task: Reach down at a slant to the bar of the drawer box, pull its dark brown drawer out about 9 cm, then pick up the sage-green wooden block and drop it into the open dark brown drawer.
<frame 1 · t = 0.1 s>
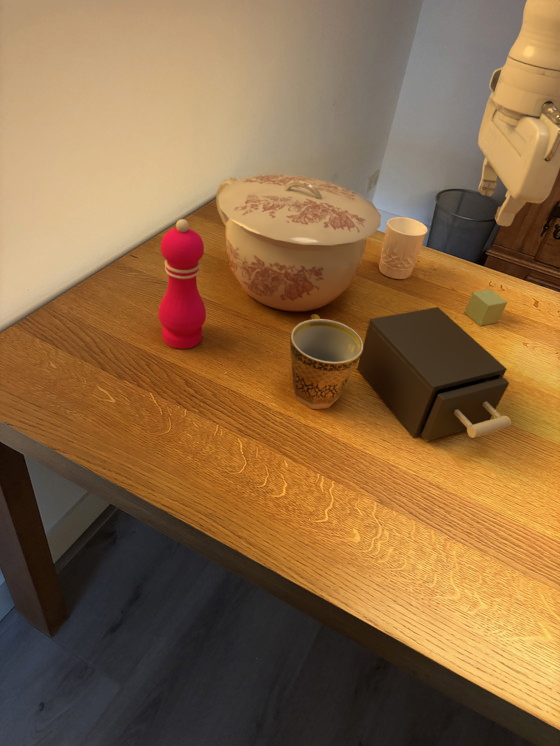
hand: (492, 207, 71), 27 cm above the table, tool pointing down, fingers open, 8 cm apart
drawer box: (417, 392, 83), on the table
chamber pot: (287, 290, 102), on the table
block: (481, 317, 102), on the table
ceramic cup: (313, 388, 82), on the table
dark brown drawer: (445, 388, 77), point 5 cm above the table, slide at 0.5 cm
white cup: (394, 272, 112), on the table
pepper mill: (182, 338, 87), on the table
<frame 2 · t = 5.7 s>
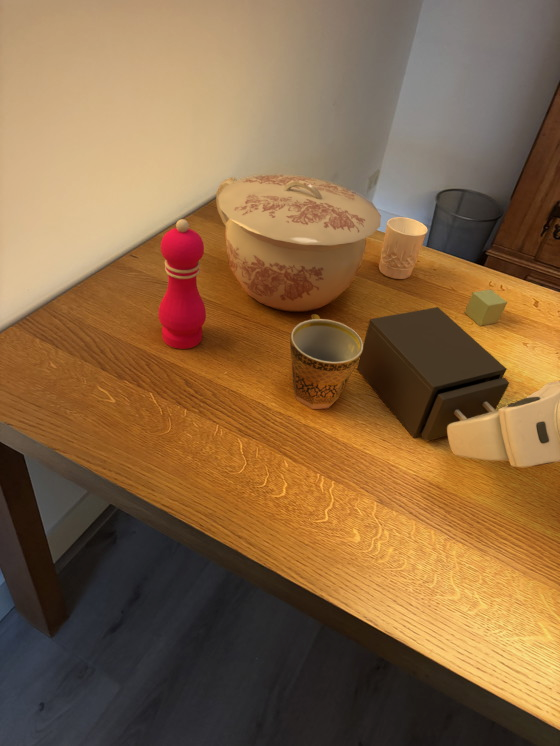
hand: (481, 421, 72), 5 cm above the table, tool tilted 45°, fingers closed on dark brown drawer, 6 cm apart
dark brown drawer: (445, 388, 77), point 5 cm above the table, slide at 0.5 cm, touching gripper
everything else where it was.
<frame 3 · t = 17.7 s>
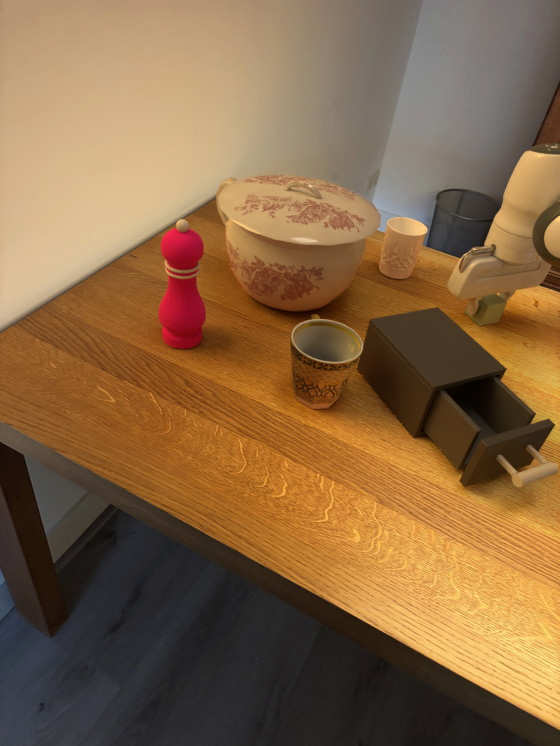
hand: (484, 310, 101), 2 cm above the table, tool pointing down, fingers closed on block, 4 cm apart
block: (481, 317, 102), on the table, touching gripper
dark brown drawer: (484, 429, 72), point 5 cm above the table, slide at 8.8 cm
everything else where it was.
when the fingers open (10 cm above the table, at t = 25.6 s): block drops 6 cm, resting on dark brown drawer.
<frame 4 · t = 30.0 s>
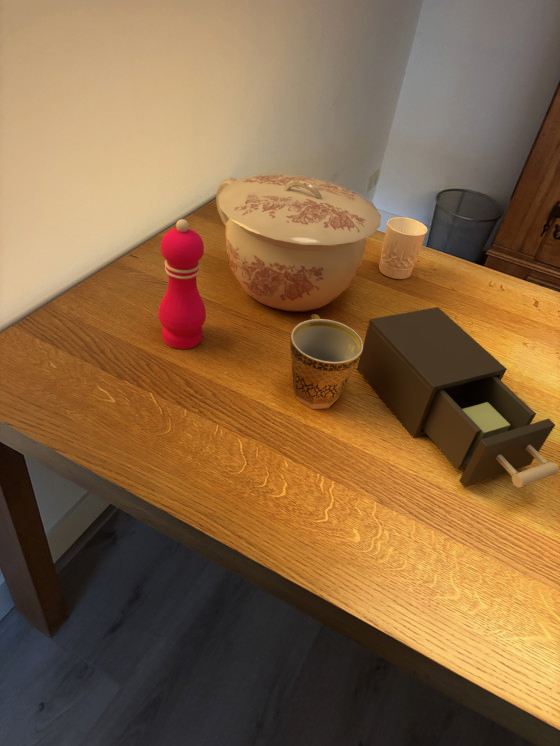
block: (474, 440, 74), point 2 cm above the table, touching dark brown drawer
dark brown drawer: (484, 429, 72), point 5 cm above the table, slide at 8.8 cm, touching block
everything else where it was.
at the end: dark brown drawer slide at 8.8 cm; block inside the target area in the dark brown drawer (1.2 cm from its centre), point 2.0 cm above the drawer box's base; the gripper is holding nothing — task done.
